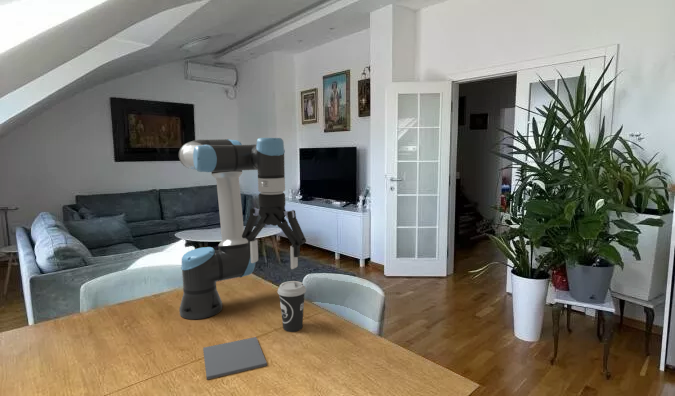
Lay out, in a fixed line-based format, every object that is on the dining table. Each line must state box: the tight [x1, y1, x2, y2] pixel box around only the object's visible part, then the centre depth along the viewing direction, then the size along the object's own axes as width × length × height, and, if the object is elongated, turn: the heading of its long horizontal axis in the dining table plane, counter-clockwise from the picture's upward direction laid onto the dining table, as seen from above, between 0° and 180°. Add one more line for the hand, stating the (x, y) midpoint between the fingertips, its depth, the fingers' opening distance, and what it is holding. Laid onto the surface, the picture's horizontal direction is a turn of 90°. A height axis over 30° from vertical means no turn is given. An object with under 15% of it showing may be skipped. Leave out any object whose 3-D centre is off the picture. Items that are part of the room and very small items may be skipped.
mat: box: [202, 336, 268, 381], centre depth 109 cm, size 16×16×1 cm
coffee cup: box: [277, 280, 307, 333], centre depth 126 cm, size 10×10×15 cm
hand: (273, 264), depth 109 cm, fingers open, 13 cm apart
